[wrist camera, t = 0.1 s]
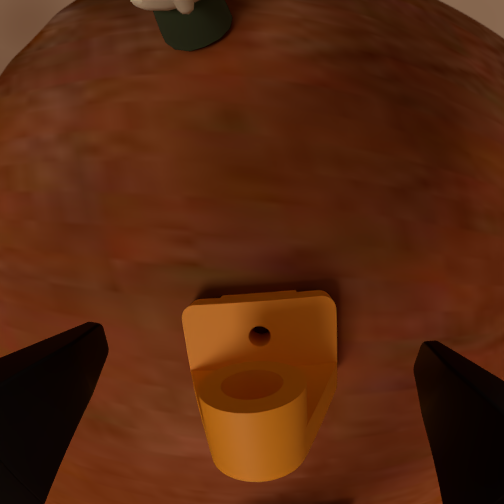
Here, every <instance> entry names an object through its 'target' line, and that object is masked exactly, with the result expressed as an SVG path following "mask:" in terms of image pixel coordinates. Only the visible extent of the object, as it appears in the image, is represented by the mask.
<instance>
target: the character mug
mask: <svg viewBox="0 0 504 504" xmlns="http://www.w3.org/2000/svg"><path fill="white" fill-rule="evenodd" d="M130 1H131V2H132V3H133V4H134V5H135V6H136V7H139V8H142V9H145V10H152V11H153V12H154V15H155V18H156V21H157V23H158V26H159V29H160V31H161V33H162V36H163V38H164V40H165V42H166V43H167V44H168V45H170V46H171V47H173V48H174V49H177V50H184V51H192V50H195V49H199V48H202V47H205V46H207V45H209V44H211V43H213V42H214V41H216V40H218V39H220V38H221V37H222V36H223V35H224V34H225V33H226V32H227V31H228V30H229V29H230V25H231V22H232V15H231V13H230V11H229V8H228V6H227V4H226V2H225V0H130Z"/></svg>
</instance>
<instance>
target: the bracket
mask: <svg viewBox="0 0 504 504" xmlns="http://www.w3.org/2000/svg"><path fill="white" fill-rule="evenodd" d="M182 322H183V329H184V335H185V341H186V347H187V353H188V358H189V364H190V369H191V375H192V380H193V385H194V390H195V395H196V399H197V403H198V407H199V411H200V415H201V419H202V423H203V426H204V430H205V434H206V437H207V441H208V444H209V448H210V451H211V455H212V458H213V461H214V463H215V465H216V467H217V468H218V469H219V470H220V471H221V472H223V473H224V474H226V475H228V476H229V477H232V478H234V479H238V480H242V481H248V482H263V481H270V480H274V479H278V478H281V477H283V476H285V475H287V474H289V473H291V472H293V471H294V470H295V469H297V468H298V467H299V466H300V465H301V464H302V463H303V461H304V460H305V458H306V456H307V454H308V452H309V450H310V448H311V445H312V443H313V441H314V439H315V437H316V435H317V433H318V430H319V428H320V426H321V424H322V421H323V419H324V417H325V415H326V412H327V410H328V408H329V405H330V403H331V400H332V398H333V395H334V393H335V391H336V388H337V315H336V305H335V303H334V301H333V300H332V298H331V297H330V296H329V294H328V293H326V292H325V291H322V290H313V291H303V292H296V290H288V291H276V292H264V293H251V294H237V295H222V297H221V298H209V299H198V300H195V301H194V302H192V303H191V304H190V305H189V306H188V307H187V308H186V309H185V310H184V312H183V314H182ZM257 326H262V327H265V328H267V329H268V330H269V331H268V332H267V333H265V334H259V333H256V332H255V331H254V330H253V328H254V327H257Z"/></svg>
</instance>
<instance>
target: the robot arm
mask: <svg viewBox="0 0 504 504" xmlns="http://www.w3.org/2000/svg"><path fill="white" fill-rule="evenodd" d="M108 350H109V349H108V343H107V340H106V336H105V332H104V329H103V326H102V325H101V324H99V323H94V322H87V323H84V324H82V325H80V326H77V327H75V328H72V329H70V330H67V331H65V332H62V333H60V334H58V335H55V336H53V337H50V338H48V339H45V340H43V341H40V342H38V343H36V344H33V345H31V346H28V347H26V348H23V349H21V350H18V351H16V352H13V353H11V354H9V355H6V356H4V357H1V358H0V504H45V501H46V499H47V496H48V493H49V491H50V488H51V486H52V483H53V481H54V479H55V476H56V474H57V471H58V469H59V467H60V464H61V462H62V460H63V457H64V455H65V453H66V450H67V448H68V446H69V444H70V441H71V439H72V437H73V435H74V433H75V430H76V428H77V426H78V424H79V422H80V420H81V418H82V416H83V413H84V411H85V409H86V407H87V405H88V403H89V401H90V399H91V397H92V395H93V392H94V390H95V387H96V384H97V382H98V379H99V376H100V374H101V371H102V368H103V366H104V363H105V361H106V358H107V355H108ZM414 376H415V381H416V386H417V391H418V396H419V402H420V407H421V413H422V417H423V421H424V425H425V428H426V432H427V436H428V440H429V443H430V447H431V451H432V455H433V459H434V464H435V468H436V473H437V477H438V482H439V487H440V492H441V497H442V502H443V504H504V381H503V380H501V379H500V378H498V377H496V376H495V375H493V374H491V373H490V372H488V371H486V370H485V369H483V368H481V367H480V366H478V365H477V364H475V363H473V362H472V361H470V360H468V359H467V358H465V357H463V356H462V355H460V354H458V353H457V352H455V351H453V350H452V349H450V348H448V347H447V346H445V345H443V344H441V343H440V342H438V341H425V342H423V343H422V345H421V347H420V350H419V353H418V356H417V358H416V361H415V364H414Z"/></svg>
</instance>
